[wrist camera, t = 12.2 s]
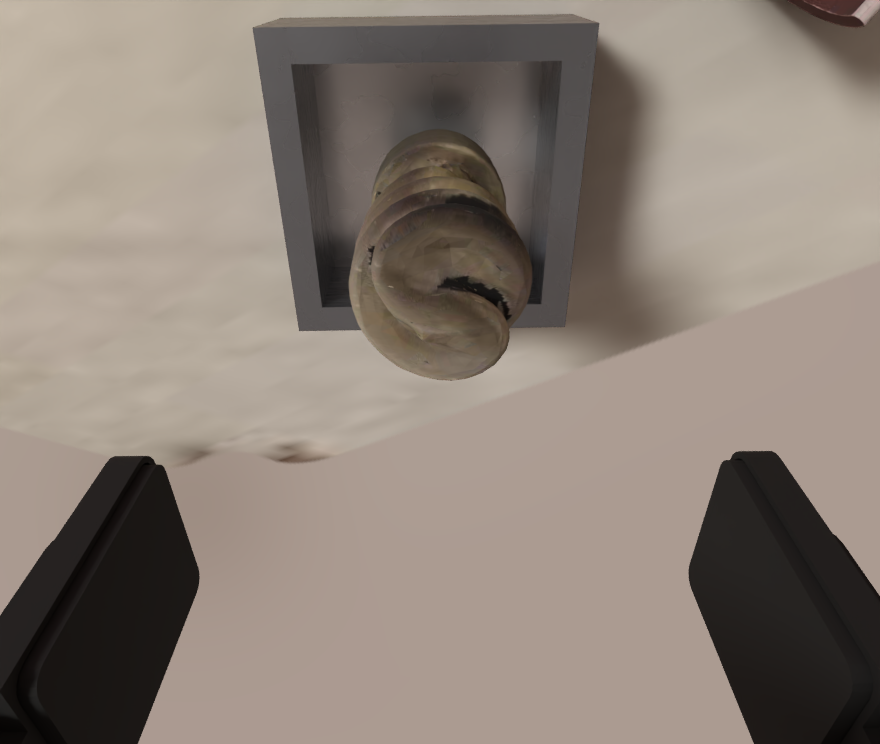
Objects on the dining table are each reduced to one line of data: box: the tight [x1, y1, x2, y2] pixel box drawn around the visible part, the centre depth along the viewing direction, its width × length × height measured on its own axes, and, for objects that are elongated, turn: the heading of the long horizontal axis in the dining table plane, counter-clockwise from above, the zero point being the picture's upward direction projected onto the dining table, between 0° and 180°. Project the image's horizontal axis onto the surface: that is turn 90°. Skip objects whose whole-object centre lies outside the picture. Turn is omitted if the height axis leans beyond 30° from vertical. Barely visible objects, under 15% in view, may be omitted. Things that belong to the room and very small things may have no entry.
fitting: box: [253, 14, 599, 331], centre depth 28 cm, size 12×12×5 cm
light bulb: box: [349, 129, 532, 381], centre depth 23 cm, size 6×6×15 cm
